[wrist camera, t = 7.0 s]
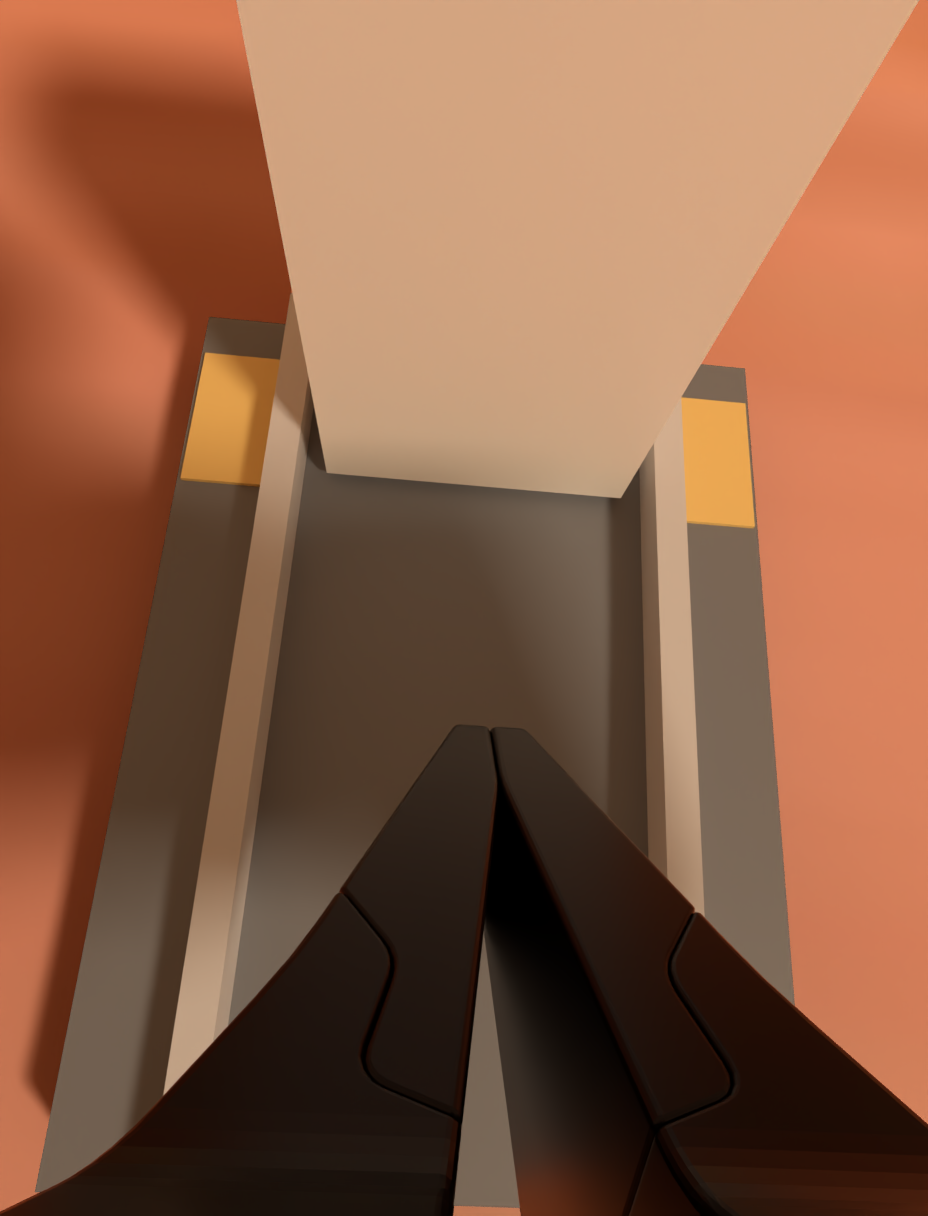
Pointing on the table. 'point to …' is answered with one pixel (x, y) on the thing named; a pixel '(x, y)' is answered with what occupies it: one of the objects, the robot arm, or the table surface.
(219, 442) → the grey railed base plate
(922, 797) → the table surface
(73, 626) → the table surface
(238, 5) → the fader knob
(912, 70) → the table surface
